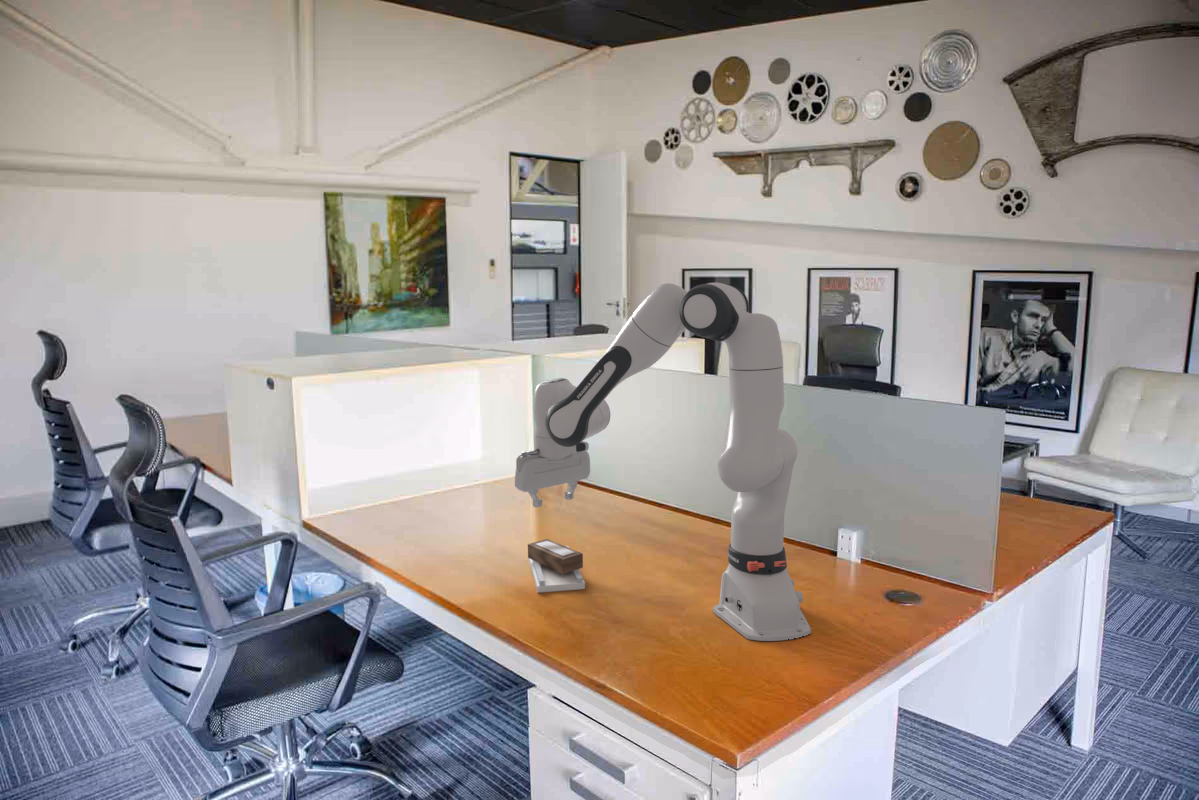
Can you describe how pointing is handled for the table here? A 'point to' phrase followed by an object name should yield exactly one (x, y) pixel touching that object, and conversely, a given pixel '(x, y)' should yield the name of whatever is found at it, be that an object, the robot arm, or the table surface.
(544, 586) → the picture ledge
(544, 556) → the picture frame
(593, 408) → the robot arm
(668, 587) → the table surface
